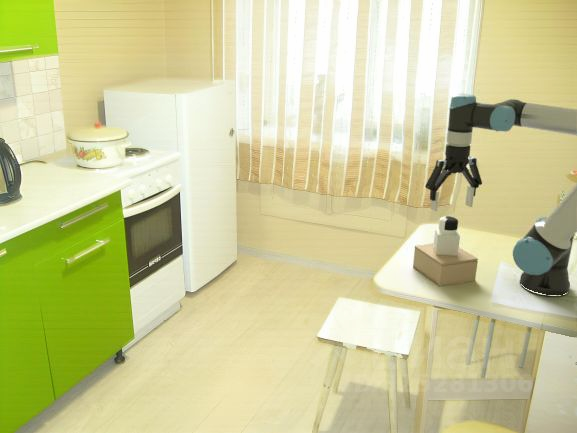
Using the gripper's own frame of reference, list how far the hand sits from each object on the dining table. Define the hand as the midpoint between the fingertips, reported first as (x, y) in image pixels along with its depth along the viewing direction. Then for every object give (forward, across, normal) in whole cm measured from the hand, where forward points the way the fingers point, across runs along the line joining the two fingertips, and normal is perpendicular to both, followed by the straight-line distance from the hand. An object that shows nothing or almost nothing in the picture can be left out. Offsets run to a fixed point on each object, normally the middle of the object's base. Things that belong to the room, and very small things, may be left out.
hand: (451, 207), depth 201 cm
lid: (+16, 0, 0) cm, 16 cm away
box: (+24, 0, 0) cm, 24 cm away
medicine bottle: (+16, 0, 0) cm, 16 cm away
